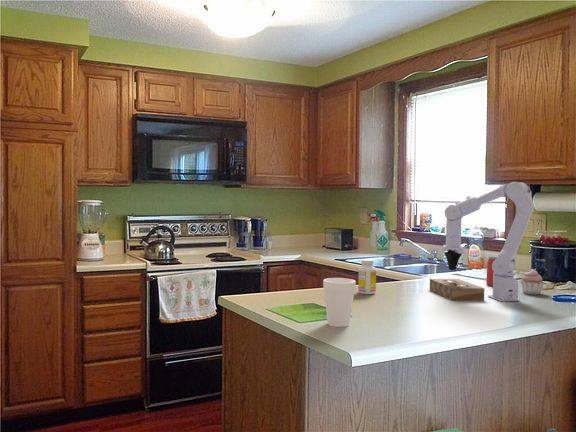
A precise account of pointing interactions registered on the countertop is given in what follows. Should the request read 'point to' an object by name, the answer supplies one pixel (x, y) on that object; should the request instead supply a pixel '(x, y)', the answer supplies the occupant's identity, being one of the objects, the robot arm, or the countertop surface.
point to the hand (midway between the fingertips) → (452, 269)
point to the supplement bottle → (367, 277)
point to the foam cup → (339, 300)
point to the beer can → (490, 271)
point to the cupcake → (532, 283)
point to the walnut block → (457, 290)
